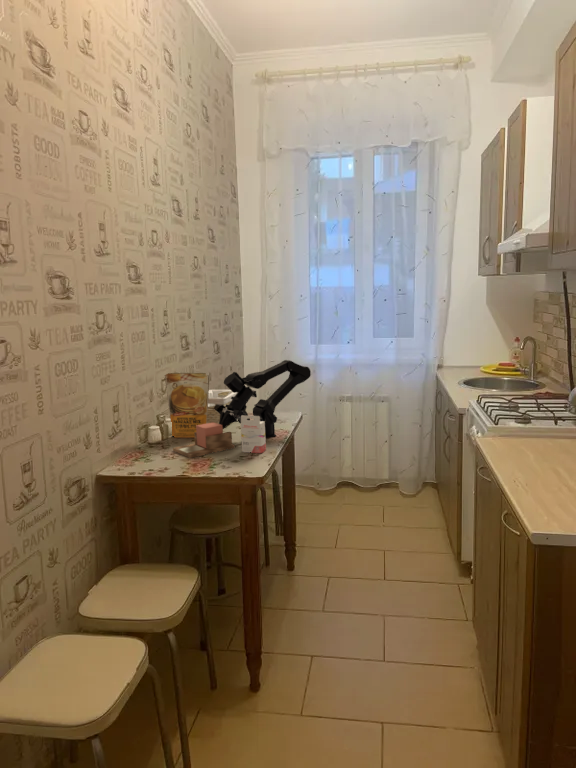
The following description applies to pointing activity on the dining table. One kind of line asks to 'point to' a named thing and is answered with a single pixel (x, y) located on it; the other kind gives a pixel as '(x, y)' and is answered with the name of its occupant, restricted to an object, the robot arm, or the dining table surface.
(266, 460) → the dining table surface
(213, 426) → the block
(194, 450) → the chute
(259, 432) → the ink cartridge box
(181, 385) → the pancake mix bag
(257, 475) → the dining table surface
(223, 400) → the storage basket
